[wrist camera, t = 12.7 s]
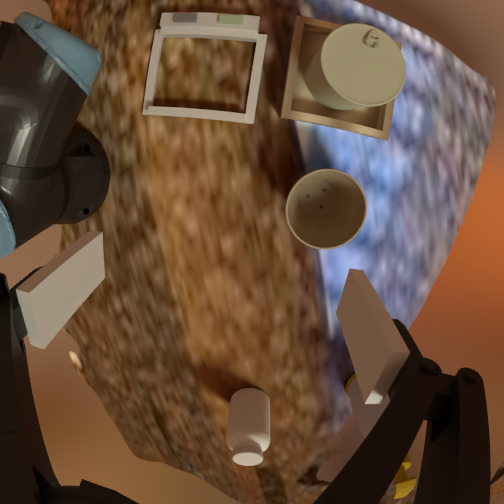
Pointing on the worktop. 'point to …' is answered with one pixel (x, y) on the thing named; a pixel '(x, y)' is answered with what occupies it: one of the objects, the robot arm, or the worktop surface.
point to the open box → (306, 106)
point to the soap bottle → (367, 420)
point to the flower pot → (326, 208)
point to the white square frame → (214, 29)
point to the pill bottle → (248, 426)
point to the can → (356, 68)
